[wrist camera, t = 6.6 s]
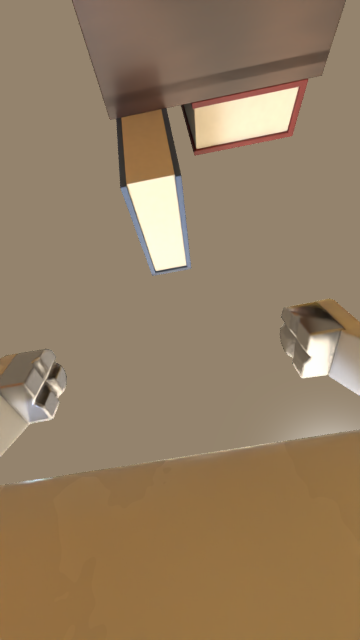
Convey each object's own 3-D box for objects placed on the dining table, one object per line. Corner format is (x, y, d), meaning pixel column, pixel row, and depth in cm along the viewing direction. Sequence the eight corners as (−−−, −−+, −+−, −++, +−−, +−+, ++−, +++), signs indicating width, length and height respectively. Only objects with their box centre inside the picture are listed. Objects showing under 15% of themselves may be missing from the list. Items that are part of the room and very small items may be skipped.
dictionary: (308, 78, 18) (292, 136, 22) (263, 18, 23) (256, 73, 27) (191, 103, 19) (194, 155, 22) (171, 38, 24) (176, 90, 27)
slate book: (181, 175, 16) (191, 268, 25) (151, 42, 24) (167, 149, 33) (120, 187, 16) (152, 276, 25) (112, 51, 24) (138, 155, 33)
